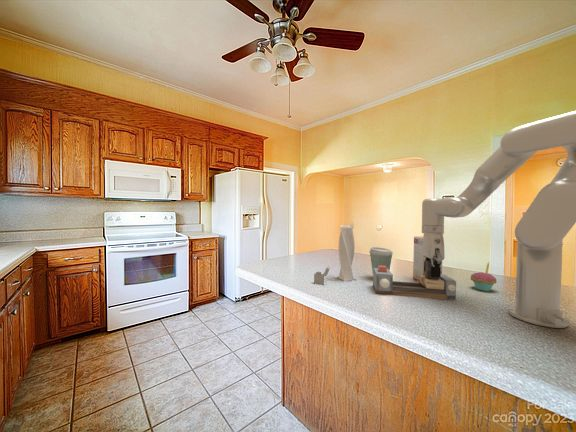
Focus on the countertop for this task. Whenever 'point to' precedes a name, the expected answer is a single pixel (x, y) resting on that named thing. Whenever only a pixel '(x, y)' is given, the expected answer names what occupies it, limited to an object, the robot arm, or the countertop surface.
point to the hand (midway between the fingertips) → (431, 274)
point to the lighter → (320, 276)
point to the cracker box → (419, 259)
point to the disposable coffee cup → (380, 257)
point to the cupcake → (483, 280)
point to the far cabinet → (383, 280)
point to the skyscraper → (346, 252)
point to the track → (415, 291)
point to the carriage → (430, 278)
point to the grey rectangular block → (449, 285)
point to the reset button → (382, 268)
